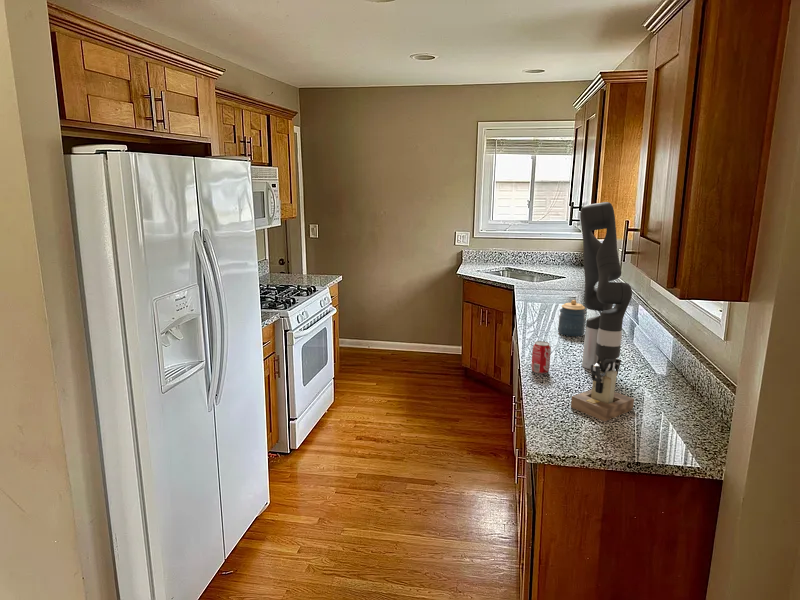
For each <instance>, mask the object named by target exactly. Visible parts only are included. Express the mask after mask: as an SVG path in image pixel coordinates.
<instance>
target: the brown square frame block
mask: <svg viewBox="0 0 800 600" xmlns="http://www.w3.org/2000/svg"><path fill="white" fill-rule="evenodd" d="M591 393H592V389H588V390H586V391H584V392H581V393H577V394H574V395H572V396H571V403H570V408H571V409H574V410H576V411H579V412H581V413H584V414H586V415H589V416H591V417H593V418H596V419H598V420H601V421H604V422H607V421H609V420H612V419H615V418H617V417H619V416H621V415H624V414H626V413H629V412H631V411H633V410H634V402H635V398H633V397H631V396H628V395H625V394H622V393H619V392H616V391H614V398H613V403H610V404H606V403H604V402H601V401H598V400H596V399H593V398H591Z"/></svg>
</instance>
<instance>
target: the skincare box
mask: <svg viewBox="0 0 800 600" xmlns="http://www.w3.org/2000/svg"><path fill="white" fill-rule="evenodd" d="M600 373H604V372H601V371H600ZM595 377H596V376H595ZM601 377H602V376H601V375H600V379H601ZM617 377H618V375H617V371H608V373H607V376H606V377H605V378H604V381H603V391H602V393H597V392H596V391H595V388H596V381H593V380H592V386H591V387H592V388H591V390H592V393H591V398H593V399H596V400H598V401H601V402H604V403H606V404H610V403H613V398H614V392H616V391H615V389H616V382H617Z"/></svg>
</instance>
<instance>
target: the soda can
mask: <svg viewBox="0 0 800 600" xmlns="http://www.w3.org/2000/svg"><path fill="white" fill-rule="evenodd" d="M550 344H551V343H550V342H547V341H544V340H537V341H535V342H534V344H533V346H532V353H531V370H532V372H533V373H535V374H539V375H545V374H547V373H548V372H550V364H551V356H552V355H551V351H552V348H551V345H550Z"/></svg>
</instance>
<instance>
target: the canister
mask: <svg viewBox="0 0 800 600" xmlns="http://www.w3.org/2000/svg"><path fill="white" fill-rule="evenodd" d="M561 307H562V308H560V309H559V313H560V314H559V316H558V326H557V333H558V332H559V333H560V334H559V333H558V334H559V335H561V334H563V335H562V336H564V335H567V336H566V337H569V336H581V337H583V336H585V329H586V321H587V318H586V314H587V311H586V306H584V305H583V304H582V303H579V302H577V299H572V300H571V301H570V302H566V303H564V304H562V305H561ZM582 335H583V336H582Z"/></svg>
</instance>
